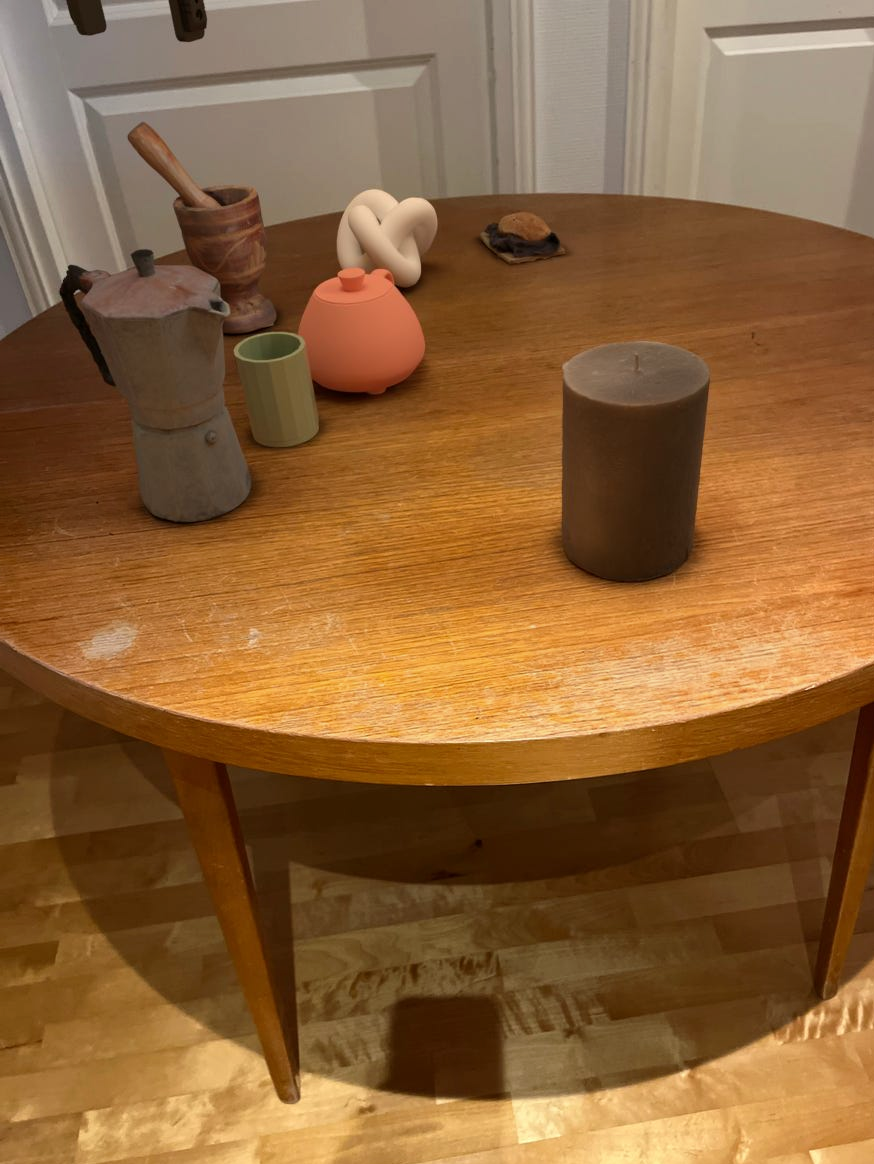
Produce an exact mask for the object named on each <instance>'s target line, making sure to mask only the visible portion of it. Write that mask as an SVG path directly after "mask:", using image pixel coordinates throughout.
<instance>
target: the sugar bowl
mask: <svg viewBox="0 0 874 1164" xmlns="http://www.w3.org/2000/svg"><path fill="white" fill-rule="evenodd" d="M300 319H301V320H300V323H299V327H298V330H297V335H298V336H300V337H302V338H303V339H304V341H305V343H306V349H307V355H308V361H309V366H310V372H311V378H312V381H314V382H316V383H317V384H318V385H320V386H322V387H323V388H325V389H329V390H332V391H338V392H345V393H364V392H365V393H367V394H368V395H381V394H383V393H385V392H386V390H387V388H390V387H392V386H395V385H397V384H399V383H401V382H403V381H404V380H406V379H407V378H409V377H410V376H411V374H412V373H413V372H415V370H416V369H417V367H418V366H419V364H420V363H421V361H422V360H423V358H424V355H425V352H426V342H425V341H426V340H425V336H424V332H423V328H422V327H421V324H420V321H419V319H418V317H417V315H416V313H415V311H414V310H413V308H412V306H411V305H410V303H409V302H408V300H407V299H406V298H405V297H404V296H403V294H402V293H401V291H400V290H399V289H398V288H397V286H396V285H395V284H394V279H393V275H392V274H391V272H389V271H388V270H385V269H376V270H374V271H373V272H372V273H371V274H365V271H364V270H363V269H360V268H347V269H344V270H342V269H341V270H340V271H339V272H337V276H336V277H332V278H330V279H327V280H325V281H323V282H321V283H320V284H318V286H316V288H314V290H313V291H312V294H311V295H310V298H309V300H308V302H307V304H306V306H305V309H304V311H303V314H302V317H301V318H300Z"/></svg>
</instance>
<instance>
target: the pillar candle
mask: <svg viewBox="0 0 874 1164" xmlns="http://www.w3.org/2000/svg"><path fill="white" fill-rule="evenodd" d="M561 369H562V371H563V372H562V373H561V374H562V416H561V424H562V425H561V431H562V433H561V435H562V437H561V440H562V441H561V442H562V445H561V523H560V524H561V525H560V527H561V529H560V530H561V543H562V548H563V551H564V553H565V554H566V556H567V557H568V559H569V560H570V561H571V562H572V563H573V564H574V565H576V566H577V567H579V568H580V569H583V570H585V571H587V572H589V573H591V574H593V575H595V576H597V577H600V578H602V579H607V580H613V581H618V582H622V581H623V582H639V581H646V580H647V581H648V580H653V579H655V578H659V577H662V576H666V575H669V574H671V573H674V572H675V571H677V570H678V569H679V568H680V567H681V566H682V565H684V563H685V562H687V560H688V559H689V558H690V555H691V554H692V551H693V546H694V538H695V537H694V535H695V527H696V519H697V518H696V517H697V509H698V499H699V490H700V489H699V488H700V482H701V481H700V480H701V469H702V460H703V447H704V439H705V431H706V424H707V423H706V422H707V412H708V402H709V393H710V385H711V370H710V368H709V366H708V364H707V363H706V361H705V360H704V359H703V358H702V357H700V356H698V355H697V354H696V353H694V352H691V351H689V350H688V349H685V348H683V347H680V346H676V345H673V344H667V343H664V342H663V341H648V340H636V341H635V340H633V341H626V342H612V343H608V344H607V343H606V344H601V345H598V346H595V347H592V348H590V349H587V350H584V351H582V352H579V353H578V354H576V355H574V356H573V357H572V358H571V359H569V360H568V361H566V362H564V363H563V364H562V366H561Z"/></svg>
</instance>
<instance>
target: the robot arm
mask: <svg viewBox="0 0 874 1164" xmlns="http://www.w3.org/2000/svg"><path fill="white" fill-rule="evenodd" d="M204 1H205V0H168V5H169V11H170V17H171V20H172V25H173V30H174V35H175V39H176V40H177V41H178V42H181V43H192V42H195V41H199V40H202V39H204V37H205V35H206V34H205V32H206V31H205V30H206V29H207V25H208V17H207V11H206V6H205V2H204ZM65 2H66V5H67V10H68V14H69V17H70V19H71V21H72V23H73V25H74V26H75V29H76V31H77V33H78V34H79V35H81V36H91V37H92V36H95V35H99V34H103V33H105V32H106V30H107V20H106V17H105V13H104V9H103V8H104V7H103V4H102V0H65Z"/></svg>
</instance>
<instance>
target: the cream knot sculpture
mask: <svg viewBox="0 0 874 1164" xmlns="http://www.w3.org/2000/svg"><path fill="white" fill-rule="evenodd" d="M437 231H438V217H437V212H436V209H435V208H434V206H433V205H432V204H431V203H430V202H429V201H428V200H426V199H425V198H422V197H413V196H412V197H407V198H405V199H403V200H402V201H400V202H399V201H397V200H396V198H395V197H393V196H392V195H391V194H389V193H388V192H386V191H384V190H381V189H376V188H372V189H367V190H364V191H362V192H360V193H358V194H357V195H356V196H355V197H354V198H353V199H351V201H350V202H349V203H348V205H347V207H345V210H344V212H343V214H342V216H341V219H340V222H339V224H338V229H337V234H336V235H337V236H336V256H337V261H338V263H339V266H340V269H341V270H344V269H347V268H360V269H363V270H364V271H365V274H371V273H372V272H373V271H374V270H376V269H385V270H388V271H389V272H391V274H392V275H393V279H394V285H395V286H396V287H399V288H404V289H405V288H412V286H415V285H416V284H417V283H418V281H419V280H420V278H421V274H422V263H421V259H422V258H423V257H424V256H425V255H426V253H427V252H428V251H429V249H430V248H431V246H432V245H433V242H434V239H435V237H436V234H437ZM363 251H364V252H363Z"/></svg>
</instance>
